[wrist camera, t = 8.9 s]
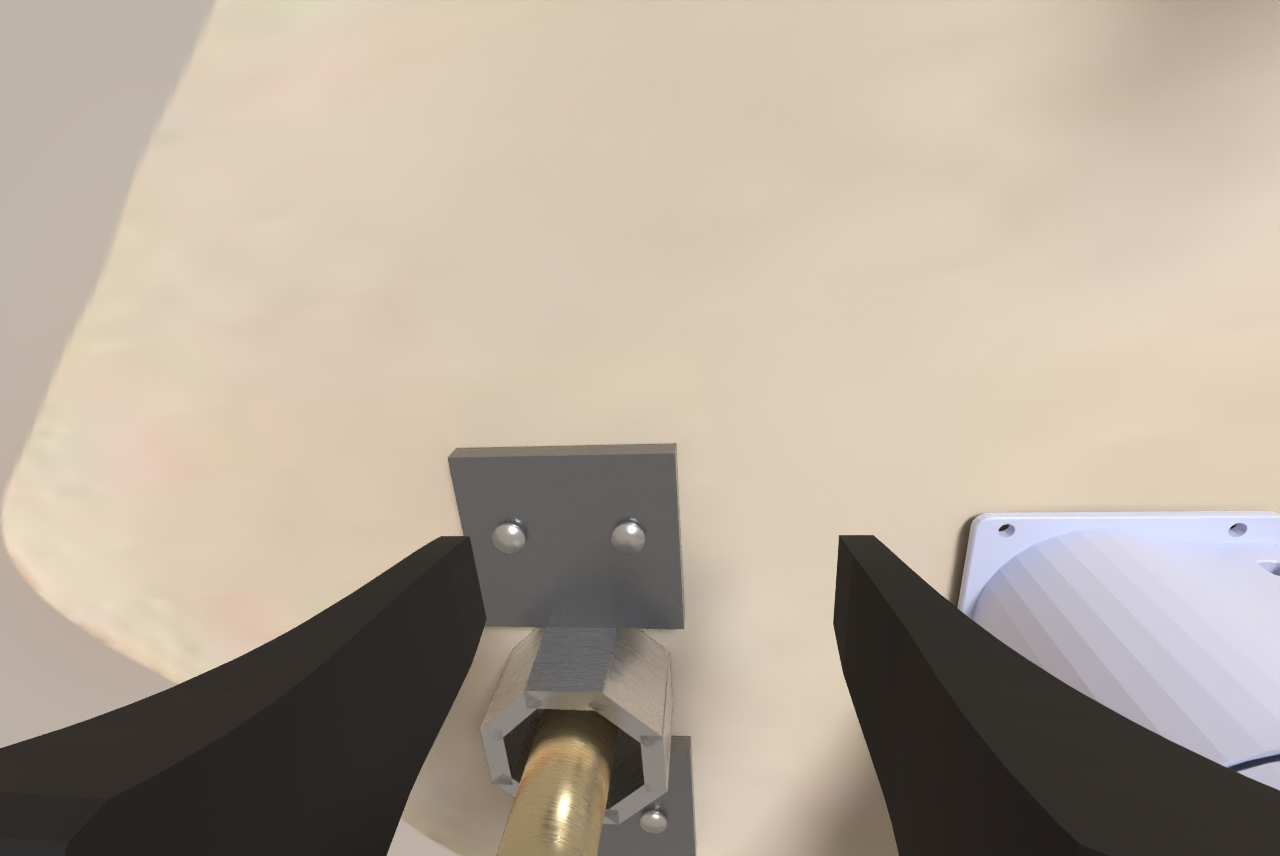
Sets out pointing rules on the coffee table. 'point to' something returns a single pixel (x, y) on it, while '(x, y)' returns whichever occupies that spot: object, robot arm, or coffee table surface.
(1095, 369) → the coffee table surface
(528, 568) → the hinge
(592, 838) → the hinge pin
